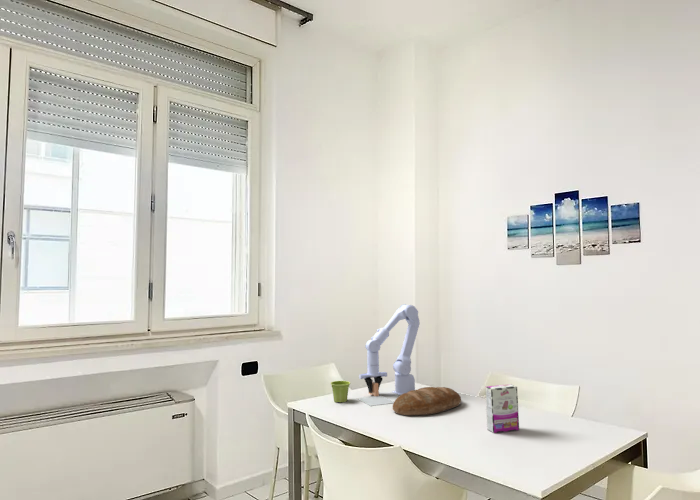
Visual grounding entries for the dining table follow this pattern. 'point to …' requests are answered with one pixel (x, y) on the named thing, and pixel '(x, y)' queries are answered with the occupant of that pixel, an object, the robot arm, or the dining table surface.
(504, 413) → the candy bar box
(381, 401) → the mat
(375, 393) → the tile
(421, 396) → the bread
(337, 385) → the plant pot
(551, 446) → the dining table surface
